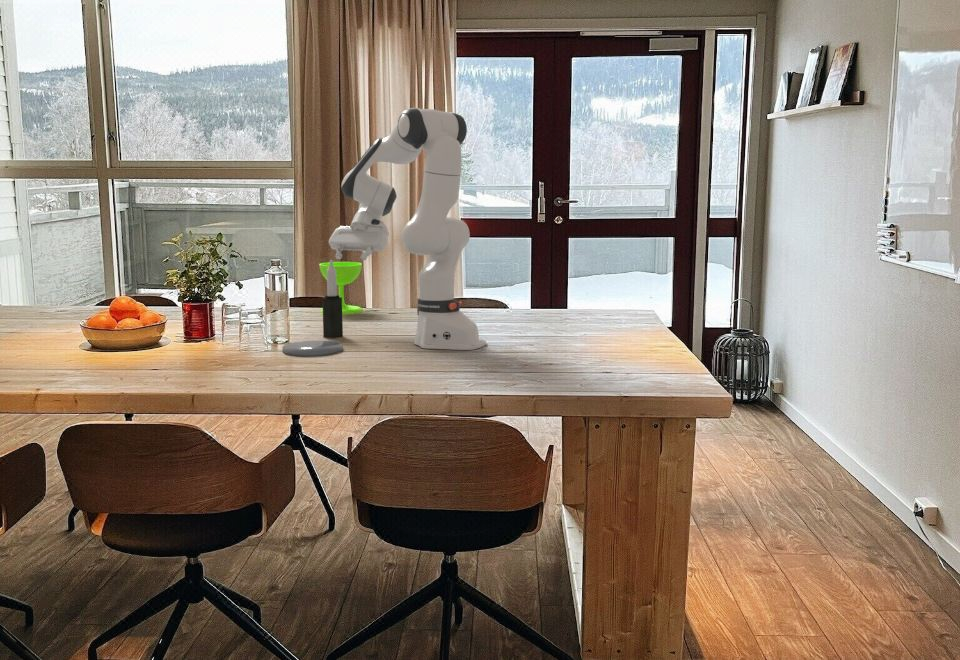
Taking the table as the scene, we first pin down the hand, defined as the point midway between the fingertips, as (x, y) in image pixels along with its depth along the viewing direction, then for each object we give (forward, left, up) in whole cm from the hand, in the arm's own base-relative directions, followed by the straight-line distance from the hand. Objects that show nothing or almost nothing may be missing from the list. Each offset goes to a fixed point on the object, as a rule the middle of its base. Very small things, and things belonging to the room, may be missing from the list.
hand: (350, 258), depth 308 cm
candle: (0, +12, -25) cm, 27 cm away
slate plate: (-6, +34, -24) cm, 42 cm away
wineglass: (+24, -35, -25) cm, 49 cm away
